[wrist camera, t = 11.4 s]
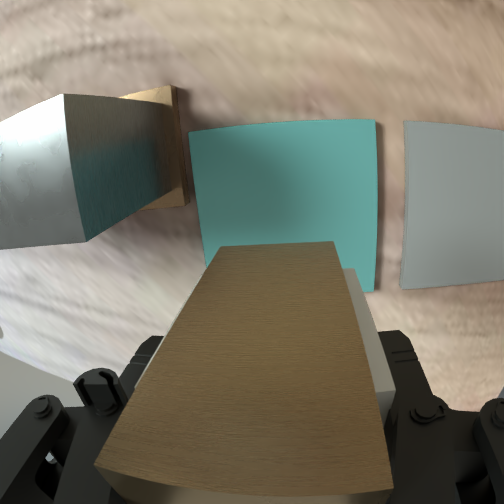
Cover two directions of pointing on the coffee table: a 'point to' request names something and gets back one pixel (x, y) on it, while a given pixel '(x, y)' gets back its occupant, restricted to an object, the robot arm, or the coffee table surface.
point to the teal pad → (290, 187)
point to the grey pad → (452, 205)
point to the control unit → (88, 165)
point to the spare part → (256, 392)
